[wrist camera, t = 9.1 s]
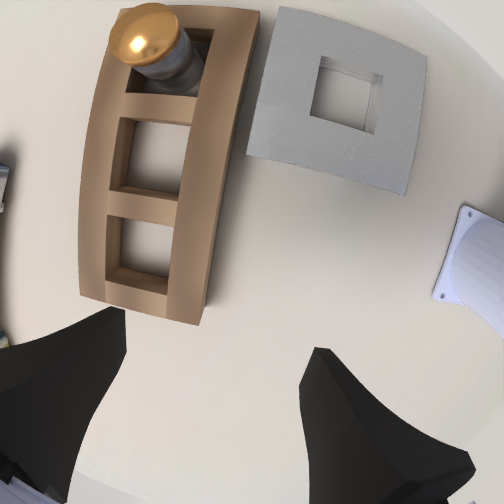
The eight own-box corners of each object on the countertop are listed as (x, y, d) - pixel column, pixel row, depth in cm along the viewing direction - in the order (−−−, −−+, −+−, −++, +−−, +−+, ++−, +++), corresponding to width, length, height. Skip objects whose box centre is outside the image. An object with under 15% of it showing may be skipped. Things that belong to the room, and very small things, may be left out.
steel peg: (208, 51, 15) (183, 1, 8) (197, 94, 16) (165, 61, 9) (162, 48, 15) (120, 5, 8) (151, 90, 16) (100, 62, 9)
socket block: (413, 63, 15) (426, 57, 13) (391, 191, 18) (405, 195, 16) (277, 19, 14) (279, 5, 12) (246, 154, 17) (245, 154, 15)
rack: (259, 27, 14) (259, 11, 12) (204, 307, 21) (198, 325, 18) (134, 22, 14) (120, 8, 12) (95, 281, 20) (80, 295, 18)
